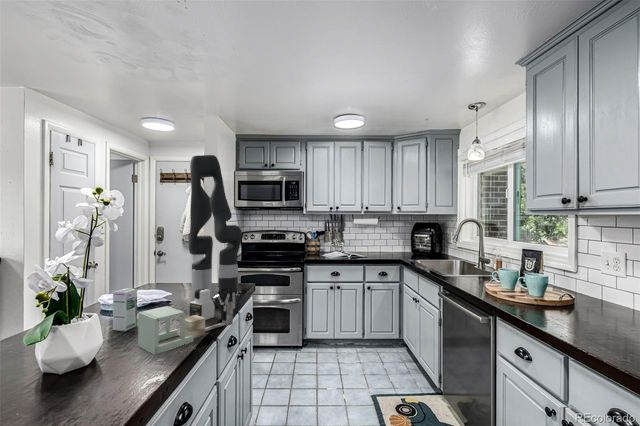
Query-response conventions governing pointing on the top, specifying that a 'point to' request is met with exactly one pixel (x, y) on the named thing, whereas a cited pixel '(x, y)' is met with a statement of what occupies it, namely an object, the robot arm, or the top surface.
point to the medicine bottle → (202, 304)
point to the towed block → (197, 323)
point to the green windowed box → (150, 330)
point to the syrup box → (124, 309)
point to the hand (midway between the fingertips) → (227, 318)
